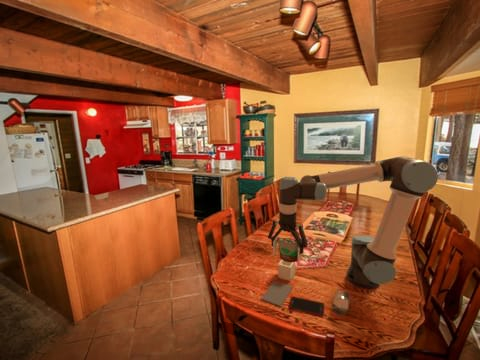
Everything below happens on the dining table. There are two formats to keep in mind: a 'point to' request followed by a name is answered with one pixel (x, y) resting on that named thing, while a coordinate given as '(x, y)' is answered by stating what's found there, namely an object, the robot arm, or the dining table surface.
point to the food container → (288, 249)
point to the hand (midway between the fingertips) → (286, 256)
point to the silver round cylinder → (341, 302)
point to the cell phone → (307, 306)
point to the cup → (286, 270)
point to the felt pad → (277, 293)
